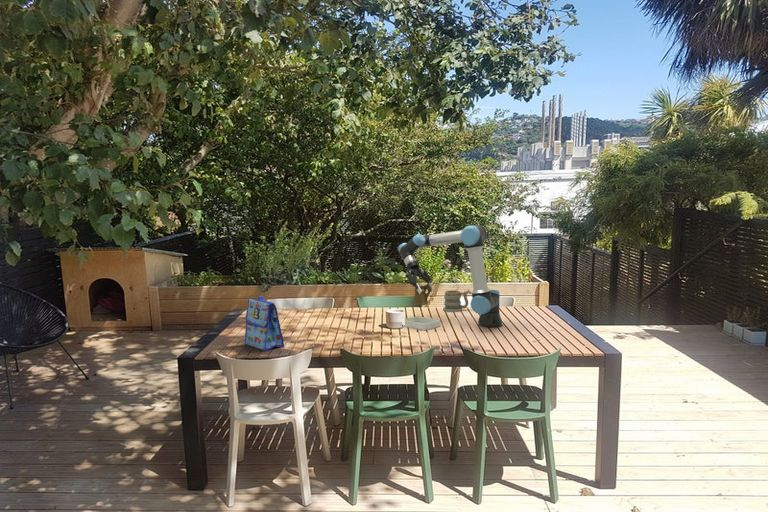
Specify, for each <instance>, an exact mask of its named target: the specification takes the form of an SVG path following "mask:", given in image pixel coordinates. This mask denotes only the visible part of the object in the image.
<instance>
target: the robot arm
mask: <svg viewBox="0 0 768 512" xmlns="http://www.w3.org/2000/svg"><path fill="white" fill-rule="evenodd" d="M487 236H488V232H487V229H486V228H485V227H484V226H483V225H480V224H475V225H468V226H466V227H464V228H463V229H461V230H454V231H448V232H441V233H434V234H427V235H426V234H425V235H423V234H421V233H416V234H415V235H414V236H413V237H412V238H411V239H410V240H409V241H408V242H402V243H401V244H399V246H397V250H398V253H399V255H400V257H401V258H402V260H403V262H404V264H405V266H406V269H407V271H406V275H407V277H408V282H409V285H410V286H412V287H414V288H416V289H417V291H418V293H419V294H420V293H421V292H422V290H421V288H420V287H419V286H420V285H419V283H418V282H417V277H419V278H421V279H422V280H423V281H424V282H425V283H426V284H427V283H428V282H429V281H430V279H431V278H432V277H431V276H430V275H429V274H428V272H427V270H426V269H425V268H423V269H422V268H421V267H420V265H419V262H418V261H417V259H416V257H415V255H414V254H415V252H416V251H418V249H421V248H422V249H423V248H428V247H435V246H441V245H450V244H457V243H462V244H463V247H464V249H465V250H466V251H467V253H468V254H467V255H468V262H469V269H470V275H471V283H472V288H473V290H472V291H471V292H472V293H471V301H470V308H471V310H472V311H473V312H474V313H475V314H477V315H479V318H478V321H477V324H478V325H477V326H479V327H482V328H488V329H495V328H500V327H501V328H502V326H503V321H502V316H501V315H500V297H501V295H500V290H497V289H490V288H488V282H487V276H486V275H487V274H486V268H485V261H484V255H483V248H484V246H485V244H484V243H485V242H484V241H485V240H487ZM429 286H430V289H431V292H430V293H433V292H434V288H433V284H432V281H431V282H430V284H429Z"/></svg>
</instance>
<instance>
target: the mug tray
mask: <svg viewBox="0 0 768 512" xmlns="http://www.w3.org/2000/svg"><path fill="white" fill-rule="evenodd" d="M404 319H405V325H404V326H403V327H405V328H410V329H414V330H419V331H424V332H426V331H429V330H432V329H436V328H439V327H441V325H440V324H441V323H440V322H441V320H440V319H434V318H429V317H428V318H427V317H424V316H423V317H422V316H417V315H416V316H411V317H408V318H404Z"/></svg>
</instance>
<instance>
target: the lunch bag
mask: <svg viewBox="0 0 768 512" xmlns="http://www.w3.org/2000/svg"><path fill="white" fill-rule="evenodd" d="M244 330H245V332H244V334H245V335H244V345H247V346H250V347H253V348H255V349H258V350H261V351H264V352H267V351H269V350H271V349H273V348H275V347H277V348H284V347H285V343H284V336H283V332H282V329H281V324H280V320H279V313H278V308H277V306H276V304H275V303H274V302H271V301H269V300H265V298H264V295H258V296H257V299H256V298H248V299H247V307H246V313H245V329H244Z"/></svg>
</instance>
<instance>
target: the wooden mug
mask: <svg viewBox="0 0 768 512" xmlns="http://www.w3.org/2000/svg"><path fill="white" fill-rule="evenodd" d="M430 278H431V279H430V281H429V282H428V283H426V285H425V284H424V285H419V287H420V288H421V290H422V292H421V293H420V294H419V293H418V291H417V289H416V288H415V287H414V288H415V289H414V297H413V298H414V299H413V301H412V302H413V303H412V305H415V306H426V305H428V303H429V302H428V297H429V296H430V294H431V293H432V292H431V289H430V286H429V284H430V282H431V283H432V282H433V280H434V278H435V277H434V276H432V277H430Z"/></svg>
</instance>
